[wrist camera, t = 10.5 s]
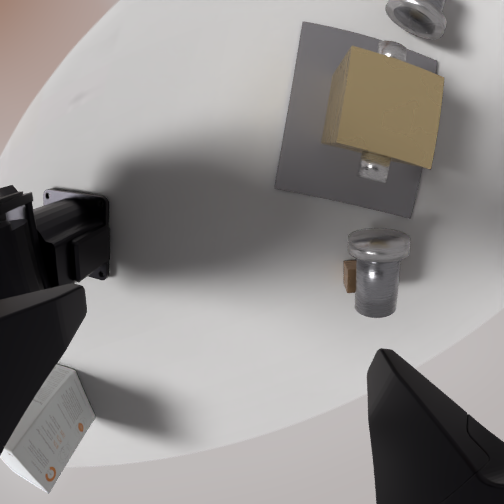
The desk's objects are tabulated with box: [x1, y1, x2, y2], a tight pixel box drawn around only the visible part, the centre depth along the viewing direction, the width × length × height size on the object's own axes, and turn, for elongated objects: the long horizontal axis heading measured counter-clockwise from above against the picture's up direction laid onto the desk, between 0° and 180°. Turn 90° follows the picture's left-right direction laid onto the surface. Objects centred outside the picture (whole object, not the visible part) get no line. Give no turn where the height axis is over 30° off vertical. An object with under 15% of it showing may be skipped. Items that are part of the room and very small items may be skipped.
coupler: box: [321, 41, 444, 183], centre depth 13 cm, size 4×7×6 cm, turn 171°
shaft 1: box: [344, 228, 410, 318], centre depth 17 cm, size 4×4×5 cm
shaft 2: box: [386, 0, 447, 39], centre depth 11 cm, size 4×4×5 cm
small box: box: [0, 364, 96, 493], centre depth 23 cm, size 8×6×13 cm
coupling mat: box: [275, 22, 437, 218], centre depth 16 cm, size 9×11×1 cm
